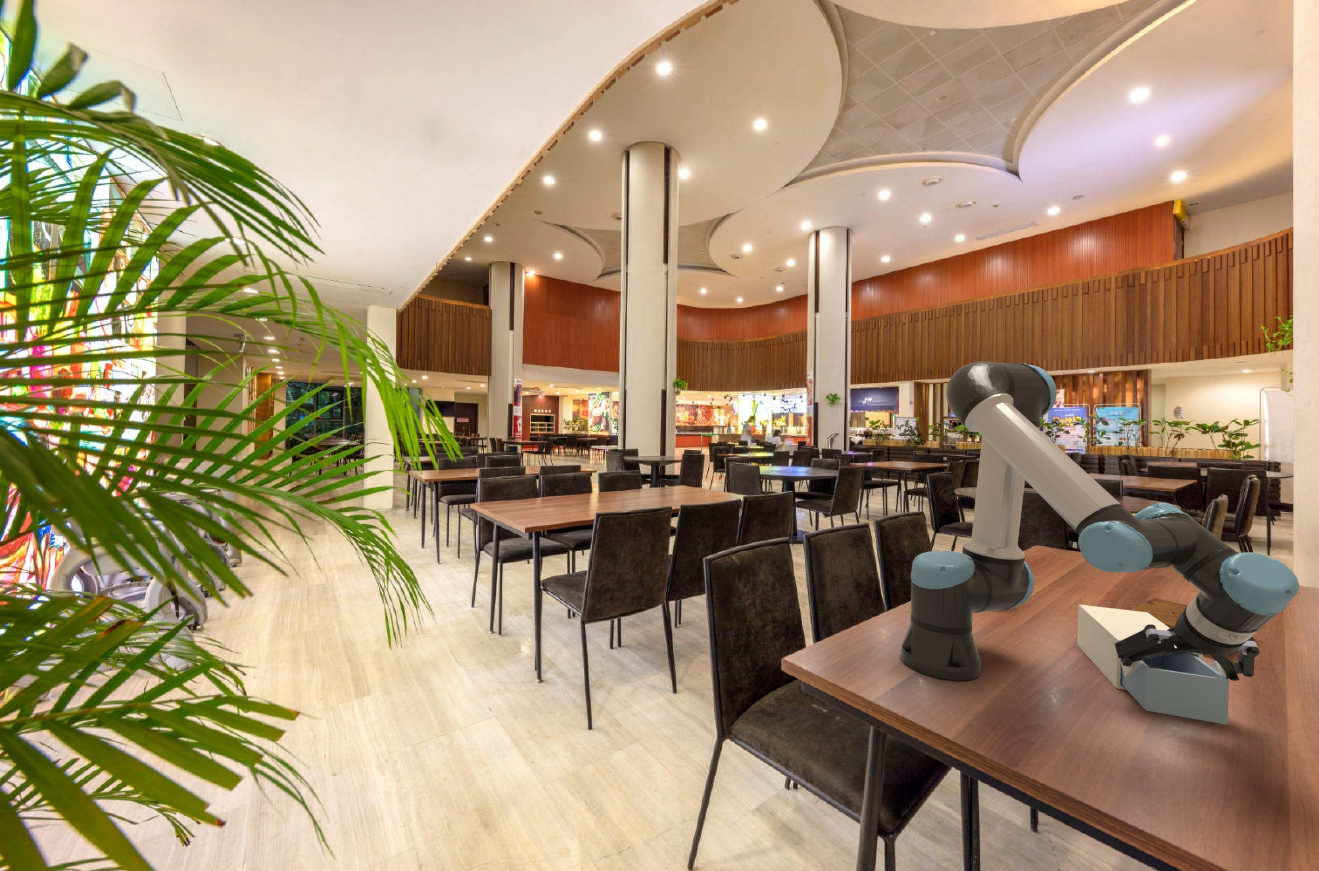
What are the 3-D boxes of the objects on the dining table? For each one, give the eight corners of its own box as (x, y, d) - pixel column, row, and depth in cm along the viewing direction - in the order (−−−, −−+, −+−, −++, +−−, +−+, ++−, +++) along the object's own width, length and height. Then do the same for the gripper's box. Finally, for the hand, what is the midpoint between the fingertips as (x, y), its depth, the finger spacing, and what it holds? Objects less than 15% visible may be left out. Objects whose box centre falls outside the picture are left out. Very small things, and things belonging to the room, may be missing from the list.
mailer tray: (1227, 724, 89) (1229, 680, 89) (1146, 710, 93) (1147, 668, 93) (1163, 668, 109) (1164, 632, 109) (1098, 659, 113) (1099, 624, 113)
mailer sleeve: (1201, 702, 98) (1203, 651, 98) (1116, 688, 103) (1117, 639, 103) (1146, 654, 118) (1147, 612, 118) (1077, 644, 123) (1078, 604, 123)
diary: (1149, 618, 143) (1150, 597, 143) (1252, 642, 127) (1253, 619, 127) (1117, 634, 131) (1118, 611, 131) (1225, 664, 115) (1226, 638, 115)
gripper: (1130, 633, 86) (1091, 683, 100) (1332, 660, 77) (1257, 711, 91) (1117, 591, 90) (1082, 645, 105) (1307, 612, 81) (1239, 668, 96)
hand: (1164, 676), depth 98 cm, fingers closed on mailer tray, 11 cm apart
